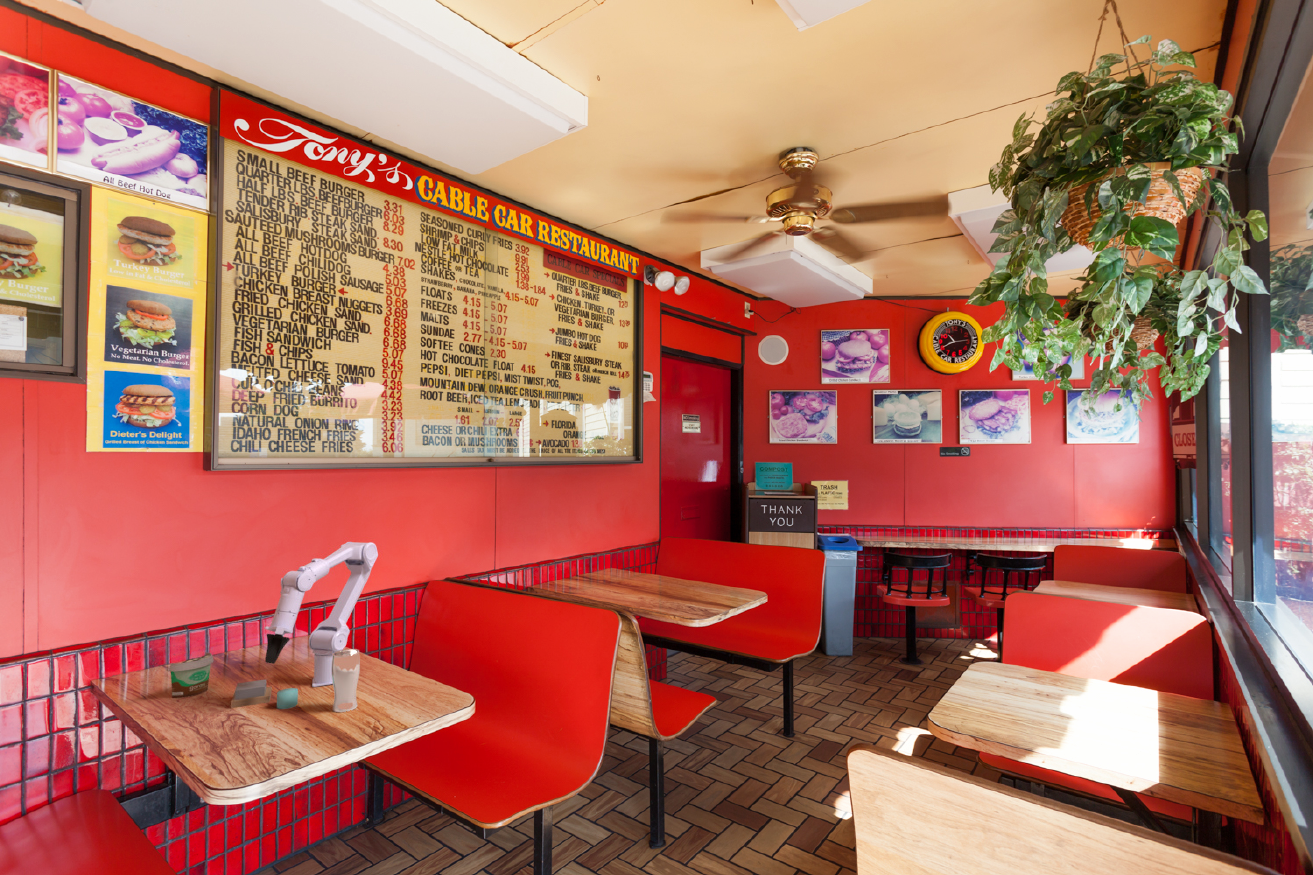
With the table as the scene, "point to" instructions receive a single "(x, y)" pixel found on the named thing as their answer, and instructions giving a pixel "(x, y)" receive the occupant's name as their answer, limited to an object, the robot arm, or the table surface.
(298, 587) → the robot arm
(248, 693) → the tower top
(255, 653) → the table surface
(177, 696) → the food container
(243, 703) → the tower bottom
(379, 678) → the table surface
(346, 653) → the beer glass
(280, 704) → the teal domed cylinder
